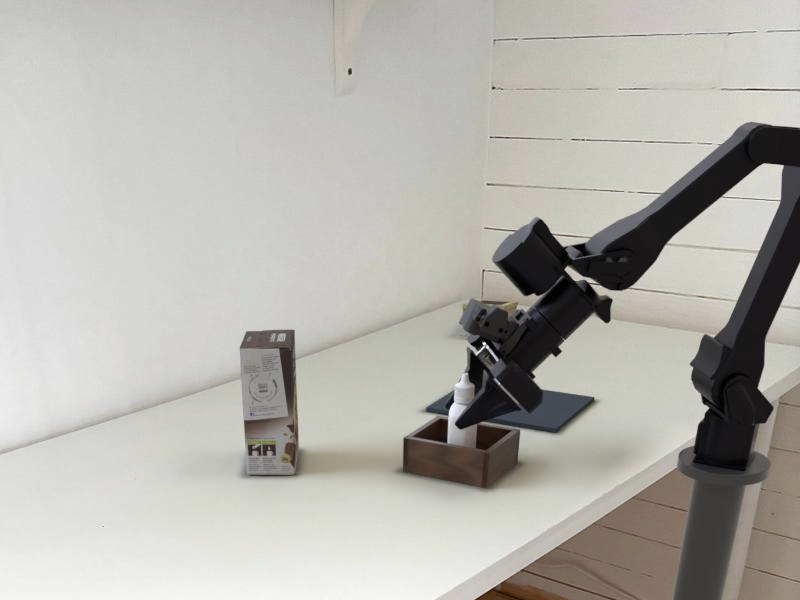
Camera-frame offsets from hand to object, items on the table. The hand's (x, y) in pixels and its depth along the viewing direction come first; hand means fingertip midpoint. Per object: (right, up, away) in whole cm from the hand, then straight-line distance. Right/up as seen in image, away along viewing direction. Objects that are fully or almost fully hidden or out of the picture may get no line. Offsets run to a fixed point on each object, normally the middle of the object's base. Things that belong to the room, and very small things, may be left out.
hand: (452, 417), depth 122 cm
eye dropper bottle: (+2, -6, +4) cm, 7 cm away
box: (+16, +32, +65) cm, 74 cm away
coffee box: (-22, -5, +7) cm, 24 cm away
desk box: (+2, -6, +3) cm, 7 cm away
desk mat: (+12, +7, +24) cm, 28 cm away
